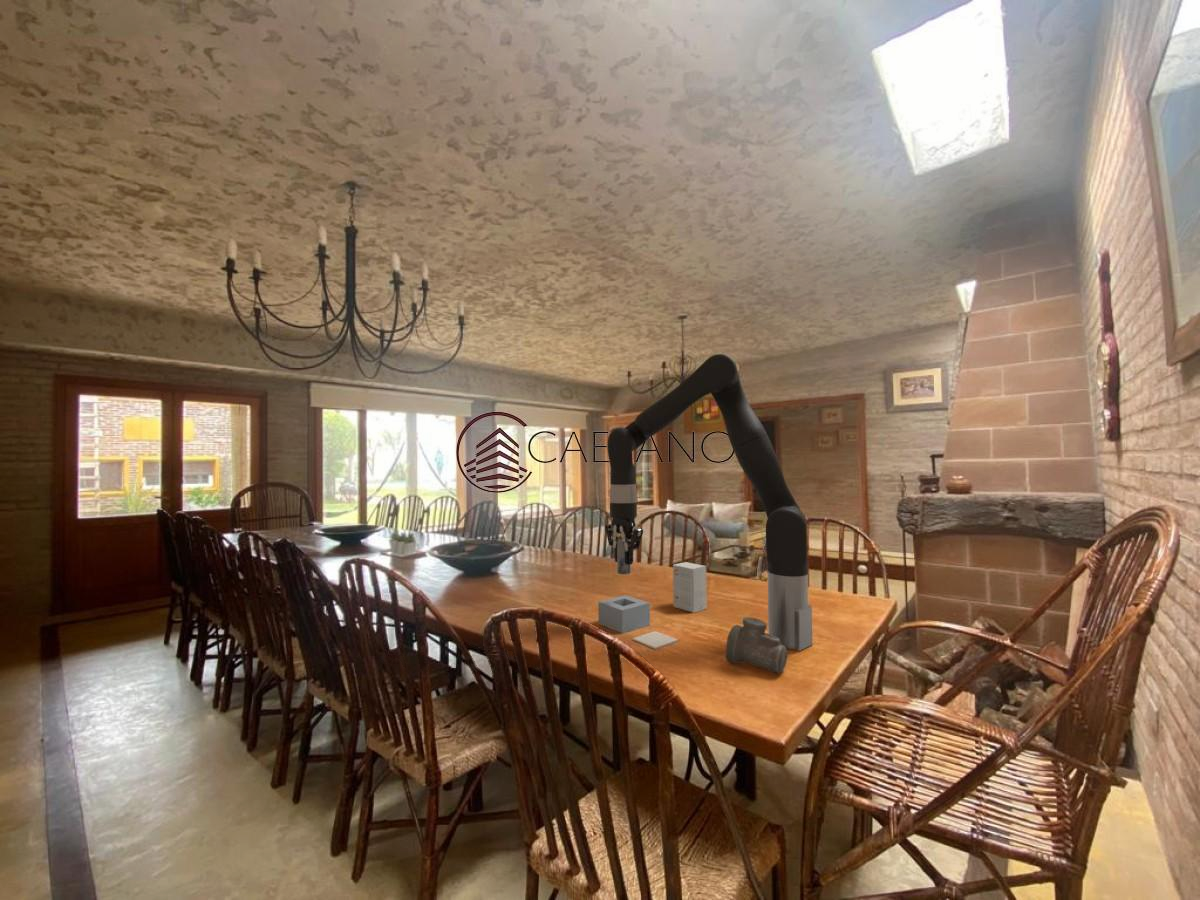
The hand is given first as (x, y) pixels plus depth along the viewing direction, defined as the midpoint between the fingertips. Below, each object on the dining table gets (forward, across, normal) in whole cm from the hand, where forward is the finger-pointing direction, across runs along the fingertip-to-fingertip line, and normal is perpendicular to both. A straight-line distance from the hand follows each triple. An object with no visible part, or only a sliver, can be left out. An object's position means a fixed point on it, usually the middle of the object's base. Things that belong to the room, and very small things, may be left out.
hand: (623, 562), depth 134 cm
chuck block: (+17, 0, 0) cm, 17 cm away
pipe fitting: (+17, -39, -4) cm, 43 cm away
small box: (+17, -2, -25) cm, 30 cm away
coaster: (+17, -14, +2) cm, 22 cm away
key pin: (+3, 0, 0) cm, 3 cm away
